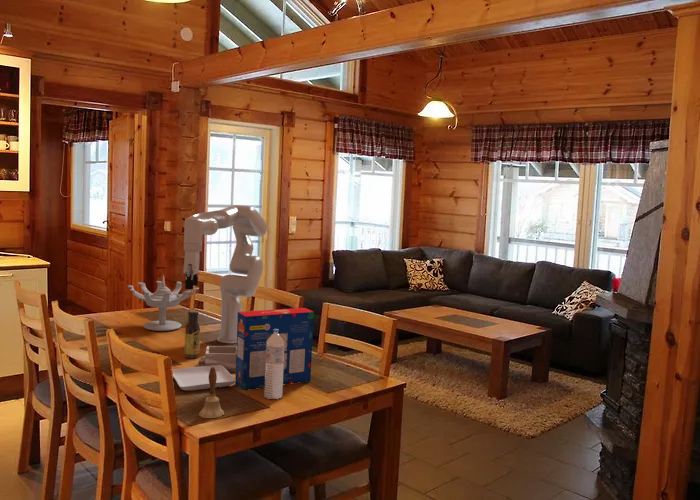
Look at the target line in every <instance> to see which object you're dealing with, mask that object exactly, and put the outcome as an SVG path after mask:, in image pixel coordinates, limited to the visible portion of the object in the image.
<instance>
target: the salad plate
mask: <svg viewBox="0 0 700 500" xmlns="http://www.w3.org/2000/svg"><path fill="white" fill-rule="evenodd" d="M211 367H215V371H216V374H217V380H216V384H215V389H217V387H219V388H224V387H229V386H232V385H234V384H235V382H236V379H235V376H233V375H232V373H229V372H228V371H227V370H226V369H225V368H224V367H223V366H222V365H211V366H201V367H199V366H192V367H191V366H190V367H184V368H176V369H175V368H174V369H171V370H172V371H173V377H172V378H173V379H174V380H175V382H176V384H177V386H178V387H179V389H180V390H182V391H198V390H199V391H200V390H208V389H209V388H210V383H209V372H210V370H211ZM209 390H210V389H209Z"/></svg>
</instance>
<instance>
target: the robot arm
mask: <svg viewBox="0 0 700 500" xmlns="http://www.w3.org/2000/svg"><path fill="white" fill-rule="evenodd" d="M229 227H232V230H233V233H234V236H235V241H236V244H235V247H234V252H233V254H232V257H231V260H230V262H229V263H230V264H229V269H230V272H232V273H234V274H226V275H223V276H222V277H221V279H220V281H219V289H220V295H221V307H220V308H221V311H220V313H221V314H220V335H218V337H217V338H216V341H217V342H219V343H221V344H237V321H238V312H243V303H242V300H241V298H240V297H244V298H251V297H252V296H254V295H255V293H256V291H257V289H258V285H259V282H260V280H261V277H262V273H263V269H264V263H263V259H262V258H261V257H260V256H258V255H253V252H254V244H253V241H252V239H251V238H250V237H259V238H261V237H264V235H266V234H267V231H268V226H267V222H266V220H265V219H264V217H262V215H261V214H260V213H259V211H258V210H257V209H256V208H255V207H253V206H249V205H239V204H237V205H235V204H234V205H231V206H227V207H225V208H222V209H218V210H213V211H205V212H199V213H196V214H193V215H190V216H188V217H187V218H185V220H184V230H183V231H184V236H183V251H185V253H184V263H183V274H184V275H185V282H184V283H185V284H184V285H185V286H184V289H185V290H189V289H193V290H194V287H198V283H199V282H198V281H199V274H198V273H199V271H200V255H201V254H200V252H202V251H203V238H204V237H203V235H205V236H211V235H215V234H216V233H217V232H218V230H220V229H227V228H229ZM193 286H194V287H193Z"/></svg>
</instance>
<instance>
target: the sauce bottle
mask: <svg viewBox="0 0 700 500" xmlns="http://www.w3.org/2000/svg"><path fill="white" fill-rule="evenodd" d="M198 316H199V311H198V310H188V323H186V325H185V333H184V352H183V353H184V358H186V359H196V358H198V357H199V355H200V350H201V349H200V347H201V345H200V344H201V328H200V325H199V320H198V318H199V317H198Z"/></svg>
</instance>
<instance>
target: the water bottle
mask: <svg viewBox="0 0 700 500" xmlns="http://www.w3.org/2000/svg"><path fill="white" fill-rule="evenodd" d="M278 331H279V330H278V329H273V332H274V333H273V334H271V335H270V336H269V337H268V338H267V340H266V358H265V375H264V376H265V377H264V388H263V397H264V399H266V398H267V399H266V400H269V399H277V400H280V399H282V398H283V395H284V385H283V376H284V375H283V374H284V345H285V340H284V338H283V337H282V336H281V335H280V334H278ZM281 397H282V398H281ZM279 398H280V399H279Z"/></svg>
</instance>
